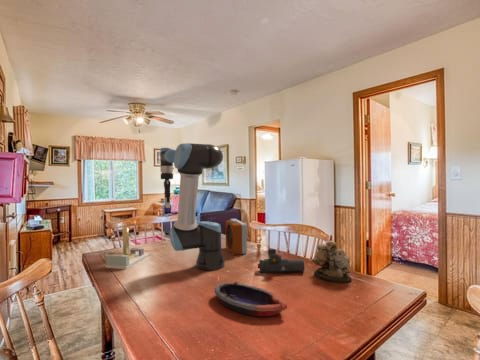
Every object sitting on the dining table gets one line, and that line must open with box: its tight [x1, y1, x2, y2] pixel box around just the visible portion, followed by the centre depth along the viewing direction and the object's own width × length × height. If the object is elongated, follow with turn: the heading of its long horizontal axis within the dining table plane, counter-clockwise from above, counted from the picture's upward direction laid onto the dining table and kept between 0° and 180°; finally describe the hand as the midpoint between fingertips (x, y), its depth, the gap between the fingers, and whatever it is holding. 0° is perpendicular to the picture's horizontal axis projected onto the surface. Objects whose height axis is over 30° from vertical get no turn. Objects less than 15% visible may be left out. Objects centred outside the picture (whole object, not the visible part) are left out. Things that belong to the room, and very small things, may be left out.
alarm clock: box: [225, 218, 248, 256], centre depth 172 cm, size 18×9×21 cm, turn 17°
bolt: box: [121, 226, 135, 260], centre depth 150 cm, size 12×3×18 cm, turn 168°
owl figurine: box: [311, 240, 352, 284], centre depth 127 cm, size 18×12×17 cm, turn 53°
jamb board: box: [105, 247, 150, 270], centre depth 153 cm, size 22×12×6 cm, turn 168°
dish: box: [214, 281, 288, 317], centre depth 100 cm, size 16×31×5 cm, turn 50°
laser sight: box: [257, 248, 305, 274], centre depth 135 cm, size 10×22×10 cm, turn 90°
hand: (167, 206), depth 170 cm, fingers open, 13 cm apart
